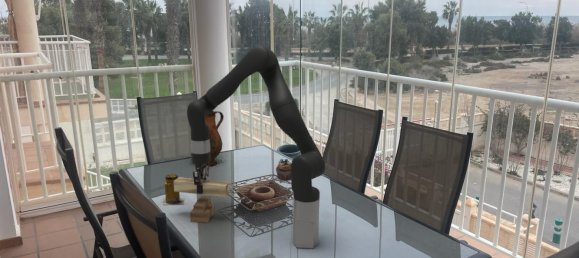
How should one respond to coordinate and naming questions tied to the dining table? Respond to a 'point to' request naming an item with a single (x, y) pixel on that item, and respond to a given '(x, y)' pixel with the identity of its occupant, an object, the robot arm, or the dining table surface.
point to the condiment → (172, 191)
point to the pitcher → (214, 136)
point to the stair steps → (202, 210)
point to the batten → (208, 187)
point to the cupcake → (284, 170)
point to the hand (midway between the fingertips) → (202, 190)
